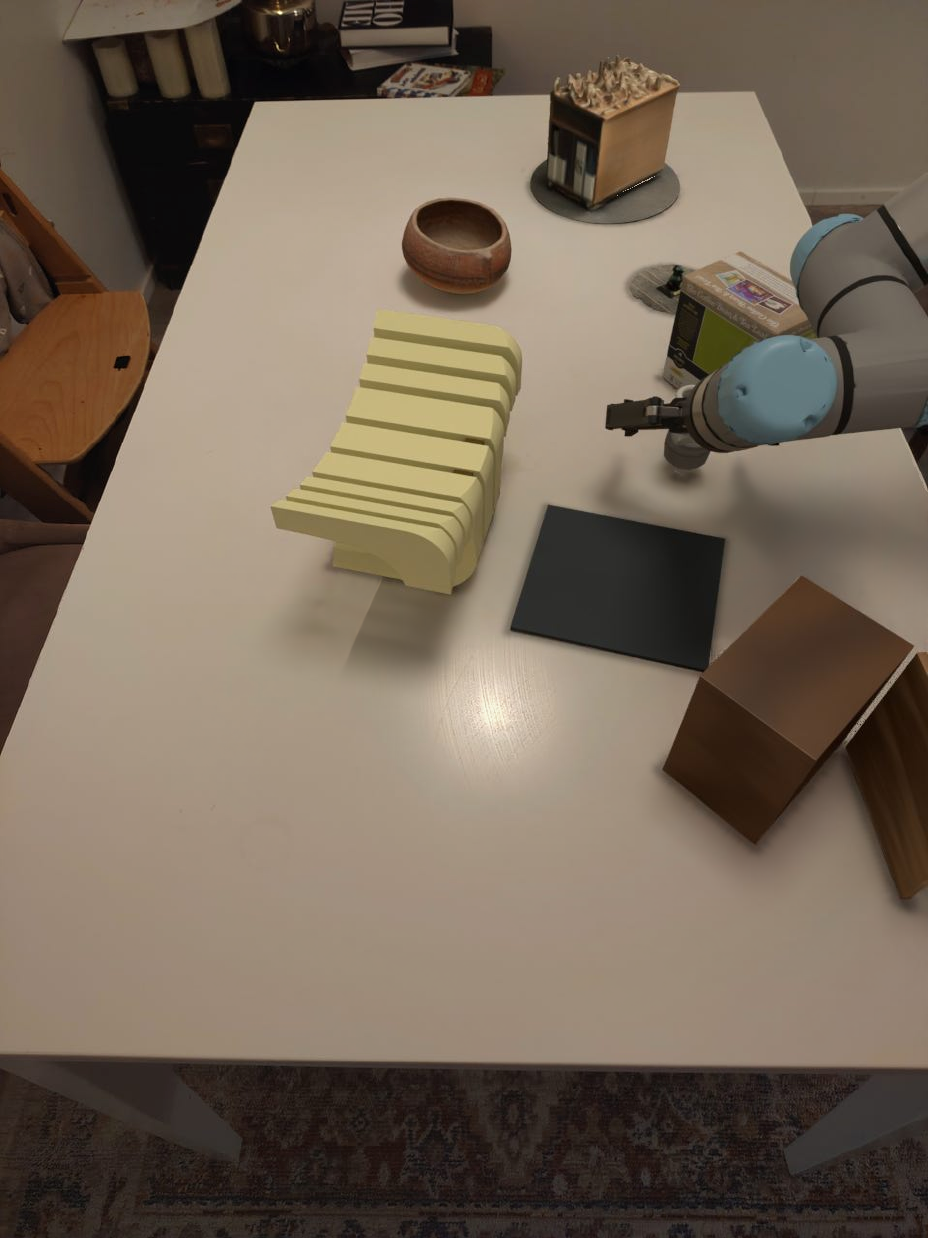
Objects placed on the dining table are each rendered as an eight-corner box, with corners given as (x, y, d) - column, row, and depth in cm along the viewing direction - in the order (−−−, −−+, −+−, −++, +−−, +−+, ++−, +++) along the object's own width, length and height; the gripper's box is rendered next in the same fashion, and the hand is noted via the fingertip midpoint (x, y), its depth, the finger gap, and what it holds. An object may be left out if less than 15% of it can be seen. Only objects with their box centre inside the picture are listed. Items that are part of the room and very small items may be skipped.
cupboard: (841, 743, 77) (914, 645, 64) (755, 845, 71) (816, 761, 58) (750, 678, 81) (801, 574, 68) (662, 769, 75) (699, 675, 62)
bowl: (491, 320, 117) (492, 253, 109) (389, 301, 120) (382, 234, 112) (523, 262, 126) (525, 196, 118) (426, 246, 129) (423, 180, 121)
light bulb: (670, 448, 101) (690, 365, 91) (712, 466, 99) (738, 384, 89) (648, 475, 98) (667, 393, 88) (691, 494, 96) (715, 412, 86)
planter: (668, 232, 130) (693, 101, 115) (514, 212, 134) (519, 83, 119) (688, 160, 144) (712, 35, 129) (548, 143, 149) (556, 21, 134)
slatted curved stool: (453, 657, 83) (448, 538, 69) (305, 626, 85) (270, 505, 71) (517, 458, 100) (523, 329, 86) (391, 437, 103) (377, 308, 88)
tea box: (798, 409, 105) (839, 304, 93) (742, 440, 101) (777, 335, 89) (714, 350, 112) (742, 246, 100) (658, 377, 109) (680, 273, 97)
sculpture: (700, 322, 116) (672, 276, 113) (647, 345, 123) (618, 302, 120) (723, 274, 122) (697, 228, 118) (671, 298, 129) (645, 256, 125)
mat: (724, 541, 92) (725, 538, 91) (706, 673, 81) (708, 670, 81) (547, 507, 95) (548, 504, 95) (510, 630, 85) (510, 626, 84)
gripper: (882, 372, 72) (803, 400, 93) (597, 358, 74) (582, 388, 95) (870, 459, 74) (795, 467, 95) (590, 443, 75) (576, 454, 96)
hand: (688, 427), depth 95 cm, fingers open, 13 cm apart
